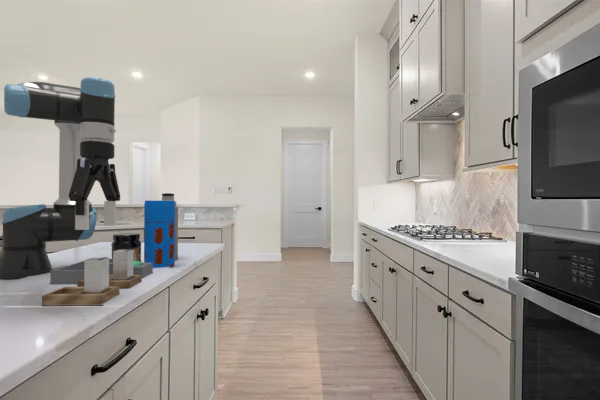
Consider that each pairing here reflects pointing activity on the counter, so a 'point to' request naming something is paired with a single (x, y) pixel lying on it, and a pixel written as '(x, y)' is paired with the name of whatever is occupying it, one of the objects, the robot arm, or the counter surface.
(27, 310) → the counter surface
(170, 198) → the thermos bottle
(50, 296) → the pallets
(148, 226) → the thermos
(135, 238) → the supplement container
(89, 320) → the counter surface
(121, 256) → the block
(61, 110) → the robot arm
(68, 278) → the tote
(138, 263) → the button
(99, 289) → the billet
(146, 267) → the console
